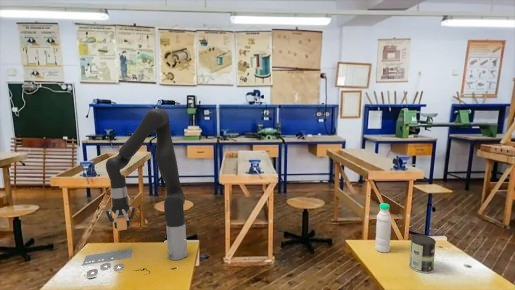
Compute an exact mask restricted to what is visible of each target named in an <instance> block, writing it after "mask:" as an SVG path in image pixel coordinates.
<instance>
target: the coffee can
mask: <svg viewBox="0 0 515 290" xmlns="http://www.w3.org/2000/svg"><path fill="white" fill-rule="evenodd" d="M436 243H437V241H436V240H435V238H433V237H431V236H428V235H424V234H412V235H411V236H410V245H409V246H410V248H409V263H408V266H409V268H410V269H412V270H413V271H414V272H418V273H421V274H431V273H433V272H434V271H435V270H434V267H435V266H434V265H435V252H436Z"/></svg>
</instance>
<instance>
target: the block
mask: <svg viewBox="0 0 515 290" xmlns="http://www.w3.org/2000/svg"><path fill="white" fill-rule="evenodd" d="M116 222H117V229H116V230H117V231H124V230H128V228H127V220H126V217H125V216H124V215H120V216H118V217H117V219H116Z"/></svg>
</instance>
